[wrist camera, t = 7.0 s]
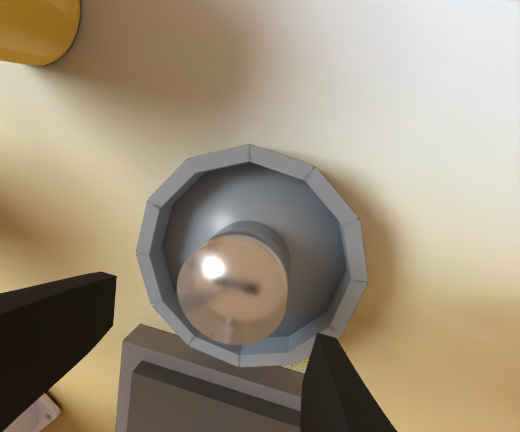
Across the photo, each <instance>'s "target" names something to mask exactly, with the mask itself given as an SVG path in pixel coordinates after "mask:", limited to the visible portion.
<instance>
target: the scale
mask: <svg viewBox="0 0 520 432" xmlns="http://www.w3.org/2000/svg"><path fill="white" fill-rule="evenodd" d="M189 345H190V343H189V344H188V345H187V344H186V343H185V342H184V341H183V340H182V339H181V337H180V336H177V335H174V334H171V333H168V332H164V331H161V330H158V329H155V328H151V327H148V326H145V325H141V324H139V325H138V326H137V327H136V328H135V329H134V330H133V331H132V332H131V333H130V334H129V335H128V336H127V337H126V338H125V339H124V340H123V343H122V355H121V367H120V379H119V391H118V403H117V415H116V427H115V432H301V430H300V411H301V393H302V382H303V379H304V375H305V374H302V373H299V372H296V371H292V370H289V369H286V368H282V367H279V366H258V367H240V366H239V365H238V367H237V366H235V365H232V364H230V363H227V362H225V361H223V360H220V359H218V358H216V357H213V356H211V355H209V354H206V353H204V352H202V351H199V350H197V349H195V348H192V347H190V346H189Z"/></svg>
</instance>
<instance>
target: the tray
mask: <svg viewBox="0 0 520 432" xmlns="http://www.w3.org/2000/svg"><path fill="white" fill-rule="evenodd" d="M358 218H359V217H358V216H357V215H356V214H355V213H354V212H353V210H352V209H351V208H350V207H349V206H348V204H347V203H346V202H345V201H344V200H343V199H342V197H341V196H340V195H339V194H338V193H337V191H336V190H335V189H334V188H333V187H332V185H331V184H330V183H329V182H328V181H327V180H326V178H325V177H324V176H323V175H322V174H321V172H320V171H319V170H318V169H317V168H316V167H314V165H311V164H308V163H305V162H302V161H299V160H296V159H293V158H290V157H287V156H284V155H281V154H278V153H275V152H272V151H269V150H266V149H263V148H260V147H258V146H255V145H252V144H251V145H250V144H247V145H243V146H239V147H234V148H230V149H226V150H221V151H217V152H213V153H208V154H204V155H200V156H195V157H191V158H189V159H187V160H186V161H185V162H184V163H183V164H182V165H181V166H180V167H179V168H178V169H177V170H176V171H175V172H174V173H173V174H172V175H171V176H170V177H169V178H168V179H167V180H166V181H165V182H164V183H163V184H162V185H161V186H160V187H159V188H158V189H157V190H156V191H155V192H154V193H153V194H152V196H151V197H150V198H149V200H148V201H147V204H146V208H145V213H144V218H143V222H142V227H141V232H140V236H139V241H138V245H137V250H136V253H138V254H136V256H137V259H138V263H139V266H140V269H141V273H142V276H143V279H144V283H145V286H146V289H147V293H148V296H149V299H150V303H151V304H154V305H153V306H152V307H153V308H154V309H155V310H156V311H157V312H158V313H159V314H160V315H161V317H162V318H163V319H164V320H165V321H166V322H167V323H168V324H169V325H170V326H171V328H172V329H173V330H174V331H175V332H176V333H177V334H178V335H179V336H180V337H181V339H182V340H183V341H184V342H185V343H186V344H187V345H188V344H189V343H190V345H189V346H190V347H192V348H195V349H197V350H199V351H202V352H204V353H206V354H209V355H211V356H213V357H216V358H218V359H220V360H223V361H225V362H227V363H230V364H232V365H235V366H237V367H238V365H239V366H240V367H258V366H280V365H293V362H294V364H297V363H298V362H300V361H301V360H303V359H305V358H306V357H308V356H310V355H311V351H312V348H313V344H314V341H315V338H316V334H317V333H321V334H324V335H328V336H332V337H335V338H336V339H337V338H339V337H341V334H343V333H344V331H345V329H346V327H347V325H348V323H349V321H350V319H351V317H352V315H353V313H354V311H355V309H356V307H357V305H358V302H359V300H360V298H361V296H362V294H363V292H364V290H365V288H366V286H367V284H368V283H367V281H368V277H367V269H366V262H365V255H364V247H363V240H362V233H361V225H360V220H359V219H358ZM244 220H248V221H256V222H260V223H263V224H265V225H267V226H269V227H270V228H272V229H273V230H275V231H276V232H277V233H278V234H279V235H280V236H281V238H282V239H283V240H284V242H285V243H286V245H287V248H288V250H289V254H290V260H291V266H290V276H289V285H288V294H287V303H286V310H285V313H284V316H283V318H282V321H281V323H280V324H279V325H278V327H277V328H276V329H275V330H274V331H273V332H272V333H271V334H270V335H269V336H267V337H266V338H264V339H262V340H260V341H258V342H256V343H252V344H247V345H229V344H224V343H220V342H217V341H215V340H213V339H210V338H209V337H207V336H205V335H204V334H202V333H201V332H200V331H198V330H197V329H196V328H195V327H194V326H193V325H192V324H191V323H190V321H189V320H188V319H187V317H186V316H185V314H184V312H183V310H182V308H181V306H180V303H179V299H178V295H177V281H178V276H179V273H180V270H181V268H182V266H183V264H184V262H185V261H186V260H187V258H188V257H189V256H190V255H191V254H192V253H193V252H195V251H196V250H197V249H198V248H199V247H201V246H202V245H203V244H204V243H205V242H207V241H208V240H209V239H210V238H211V237H213V236H214V235H215V234H216V233H217V232H219V231H220V230H221V229H222V228H224V227H225V226H227V225H229V224H231V223H234V222H237V221H244Z"/></svg>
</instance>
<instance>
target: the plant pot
mask: <svg viewBox="0 0 520 432" xmlns="http://www.w3.org/2000/svg"><path fill="white" fill-rule="evenodd" d="M79 20H80V0H0V61H7V62H13V63H20V64H26V65H33V66H41V65H46V64H49V63H52V62H54V61H56V60H57V59H59V58H60V57H61V56H63V55H64V54H65V53H66V52H67V50H68V49H69V47H70V46H71V44H72V42H73V40H74V38H75V36H76V32H77V29H78V25H79Z"/></svg>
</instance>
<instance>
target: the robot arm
mask: <svg viewBox="0 0 520 432" xmlns="http://www.w3.org/2000/svg"><path fill="white" fill-rule="evenodd" d="M116 278H117V276H115V275H111V274H107V273H104V272H97V273H90V274H85V275H80V276H75V277H71V278H67V279H62V280H58V281H54V282H49V283H45V284H41V285H36V286H32V287H28V288H23V289H19V290H14V291H9V292H5V293H0V432H39V431H40V430H42V429H43V428H44V427H45V426H47V425H48V424H49V423H50V422H52V421H53V420H54V419H56V418H57V417H58V416H59V415H60V412H61V411H60V408H59V407H58V406H57V405H56V404H55V403H54V402H53V401H52V400H51V399H50V398H49V397H48V396H47V395H46V394H45V392H46V391H48V390H49V389H50V388H51V387H52V386H53V385H54V384H55V383H56V382H57V381H59V380H60V379H61V378H62V377H63V376H64V375H65V374H66V373H67V372H69V371H70V370H71V369H72V368H73V367H74V366H75V365H76V364H77V363H78V362H79V361H80V360H82V359H83V358H84V357H85V356H86V355H87V354H88V353H89V352H90V351H91V350H92V349H93V348H94V347H95V346H96V344H97V343H98V342H99V341H100V340H101V339H102V338H103V337H104V335H105V334H106V333H107V332H108V331H109V329H110V328H111V327H112V326H113V319H114V305H115V292H116ZM300 430H301V432H397V431H396V429H395V428H394V427H393V425H392V424H391V422H390V421H389V420H388V418H387V417H386V415H385V414H384V413H383V411H382V410H381V408H380V407H379V405H378V404H377V402H376V401H375V399H374V398H373V396H372V395H371V393H370V392H369V390H368V389H367V387H366V386H365V384H364V382H363V381H362V379H361V378H360V376H359V375H358V373H357V371H356V370H355V368H354V366H353V365H352V363H351V362H350V360H349V358H348V357H347V355H346V353H345V352H344V350H343V348H342V347H341V345H340V343H339V342H338V340H337V339H336V338H335V337H332V336H328V335H324V334H321V333H317V334H316V338H315V341H314V344H313V348H312V351H311V355H310V358H309V361H308V365H307V368H306V372H305V375H304V379H303V382H302V393H301V411H300Z"/></svg>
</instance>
